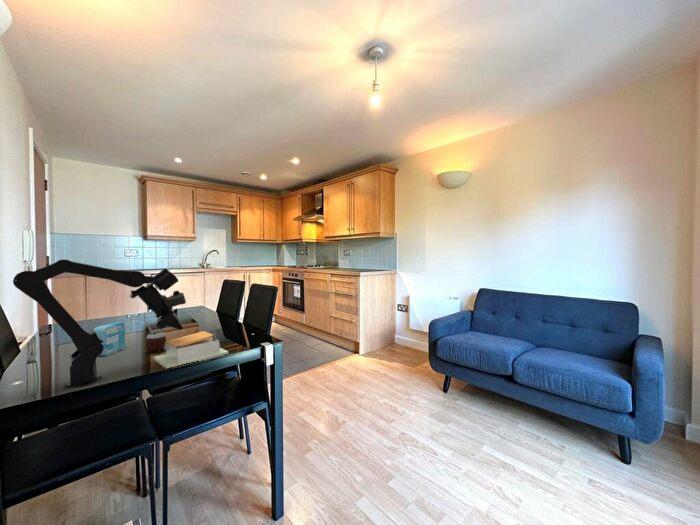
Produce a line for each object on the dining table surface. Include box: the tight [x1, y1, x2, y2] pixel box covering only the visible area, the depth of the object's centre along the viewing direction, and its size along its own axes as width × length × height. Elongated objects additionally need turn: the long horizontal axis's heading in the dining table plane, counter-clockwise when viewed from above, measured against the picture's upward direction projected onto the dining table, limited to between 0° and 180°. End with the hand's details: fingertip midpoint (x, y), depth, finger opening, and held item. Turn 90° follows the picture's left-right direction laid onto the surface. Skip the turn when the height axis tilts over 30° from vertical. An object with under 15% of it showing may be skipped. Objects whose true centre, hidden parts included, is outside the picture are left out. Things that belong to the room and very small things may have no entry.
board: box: [153, 347, 229, 370], centre depth 117 cm, size 22×17×1 cm
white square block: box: [165, 327, 221, 363], centre depth 117 cm, size 15×15×8 cm
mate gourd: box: [139, 317, 167, 355], centre depth 124 cm, size 8×8×15 cm
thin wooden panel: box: [167, 330, 213, 348], centre depth 117 cm, size 14×11×1 cm
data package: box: [93, 321, 126, 357], centre depth 126 cm, size 12×4×12 cm, turn 4°
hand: (182, 328), depth 115 cm, fingers closed
